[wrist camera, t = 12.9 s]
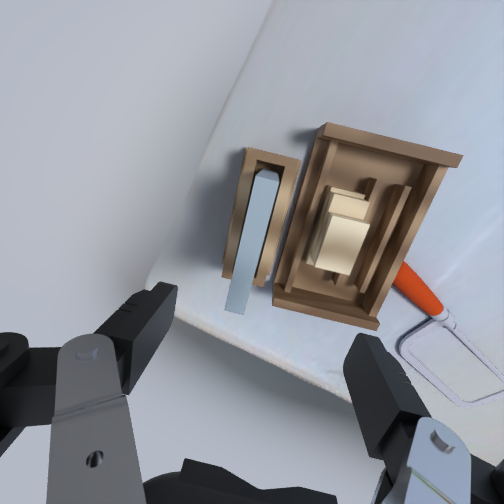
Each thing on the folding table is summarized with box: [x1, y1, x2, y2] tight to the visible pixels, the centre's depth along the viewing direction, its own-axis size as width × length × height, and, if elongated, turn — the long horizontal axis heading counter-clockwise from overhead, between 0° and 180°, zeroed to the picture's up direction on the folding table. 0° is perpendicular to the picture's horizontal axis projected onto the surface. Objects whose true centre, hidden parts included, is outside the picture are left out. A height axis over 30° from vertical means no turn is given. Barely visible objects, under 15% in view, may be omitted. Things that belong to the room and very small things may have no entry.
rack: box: [272, 122, 463, 331], centre depth 32 cm, size 22×14×6 cm, turn 167°
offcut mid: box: [310, 191, 370, 258], centre depth 30 cm, size 8×4×2 cm, turn 167°
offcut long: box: [304, 185, 365, 265], centre depth 33 cm, size 10×4×2 cm, turn 167°
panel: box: [224, 168, 279, 315], centre depth 28 cm, size 12×2×14 cm, turn 167°
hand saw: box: [393, 261, 504, 408], centre depth 39 cm, size 33×3×10 cm
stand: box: [222, 147, 301, 287], centre depth 33 cm, size 16×7×5 cm, turn 167°
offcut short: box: [312, 211, 370, 275], centre depth 29 cm, size 6×4×2 cm, turn 167°
